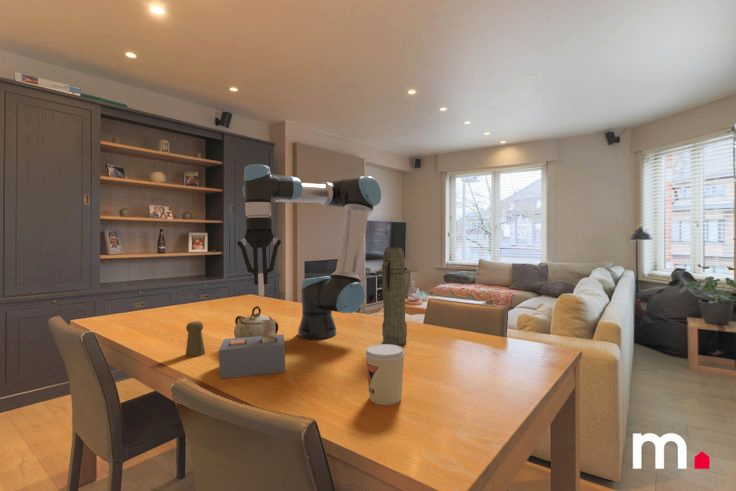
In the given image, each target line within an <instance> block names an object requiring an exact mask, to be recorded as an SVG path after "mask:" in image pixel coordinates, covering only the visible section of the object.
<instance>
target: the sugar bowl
mask: <svg viewBox="0 0 736 491" xmlns="http://www.w3.org/2000/svg"><path fill="white" fill-rule="evenodd" d="M256 309H257V310H258V313H255V311H256ZM261 313H262V309H261V307H260V306H259V305H257V306H255V307H253V308H252V310H251V315H249V316H246V317H245V316H242V315H237V316H236V318H235V320H234V321H235V322H234V323H235V327H234V328H233V329H234V330H233V334H234V338H243V337H256V336H262V325H261V322H262V320H269V319H273V318H272V317H270V316H267V315H265V314H261ZM275 331H276V335H278V332H279V325H278V322H277V321H276V320H275Z"/></svg>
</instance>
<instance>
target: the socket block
mask: <svg viewBox="0 0 736 491" xmlns="http://www.w3.org/2000/svg"><path fill="white" fill-rule="evenodd" d="M240 339H245V345H235V346H230V342H231V340H240ZM218 364H219V369H218V371H219V372H218V373H219V380H220V379H229V378H238V377H239V378H240V377H249V376H258V375H269V374H278V373H286V345H285V335H284V334H277V335H276V342H271V343H262V336H256V337H243V338H235V337H232V338H231V337H230V338H224V339H223V341H222V343H221V345H220V347H219V349H218Z"/></svg>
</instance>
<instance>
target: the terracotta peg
mask: <svg viewBox="0 0 736 491" xmlns="http://www.w3.org/2000/svg"><path fill="white" fill-rule="evenodd" d="M235 345H245V339H240V340H231V342H230V346H235Z"/></svg>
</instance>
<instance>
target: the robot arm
mask: <svg viewBox="0 0 736 491" xmlns="http://www.w3.org/2000/svg"><path fill="white" fill-rule="evenodd" d="M243 183H244V184H243V186H242V195H243V198H244V202H245V203H244V206H245V207H244V209H245V216H246V217H247V218H246V219H245V234H244V237H242V239H241V240H238V241H237V243H236V244H237V245H238V247H239V248H240V250H241V253H242V255H243V256H242V257H243V260H244V264H245V268H246V271H247V272H248V273H250V274H253V280H254V281H253V282H254V285H256V286H257V285H258V296H259V297H264V296H265V285H268V283H269V279H268V277H269V276H268V274H269V273H271V272H273V271H274V268H275V262H276V257H277V253H278V249H279V247H280V245H281V243H282V240H281V239H278V238H277V237H275V234H274V233H273V219H272V217H271V216H272V203H311V204H316V203H317V204H319V205H321V206H327V207H328V206H330V207H337V208H344V210H345V213H346V214H345V220H344V225H343V229H342V230H343V231H342V235H341V240H340V246H339V251H338V256H337V263H336V268H335V271H334V272H332V273H330V275H327V276H317V277H310V278H304V279H302V282H301V306H302V307H301V309H302V310H301V312H302V315H301V316H302V317H301V320H300V323H299V326H298V329H297V330H298V331H297V332H298V337H300V338H302V339H309V340H319V339H326V338H327V339H328V338H332V337H335V336H336V335H337V326H336V323H335V321H334V317H333V314H332V312H337V313H341V314H353V313H356V312H357V311H358V310H359V309H360V308H362V307H361V306H362V305H363V303H364V300H365V294H366V292H365V288H364V285H362V283H361V280H362V279H361V278H360V276H359V269H360V264H361V258H362V251H363V247H364V240H365V237H366V236H365V234H366V230H367V224H368V223H367V222H368V218H369V216H371V214H373V211H374V207H375V206H378V205H379V203H381V200H382V190H381V187H380V184H379V182H378V181H377V179H375V178H374V177H372V176H368V175H367V176H359V177H352V178H345V179H343V178H342V179H339V180H338V179H337V180H334V181H322V182H320V183H311V182H310V183H309V182H302V181H301V179H300V178H298V177H296V176H291V175H282V174H274V173H271V169H270V166H269V165H265V164H256V163H255V164H254V163H253V164H248V165H246V166H245V167H244V171H243ZM271 242H272V245H273V250H272V252H271V253H272V254H271V260H270V263H269V267H268V257H267V256H268V253H267V251H268V250H267V247H269V245H270V244H271ZM247 243H248V244H249V245H250V247H251V248H252V253H253V255H252V257H253V267H252V263H251V260H250V257H249V253H248V250H247V247H246V246H247ZM259 248H260V249H261V253H262V254H261V255H262V257H261V258H262V273H259V271H260V270H259Z"/></svg>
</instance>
